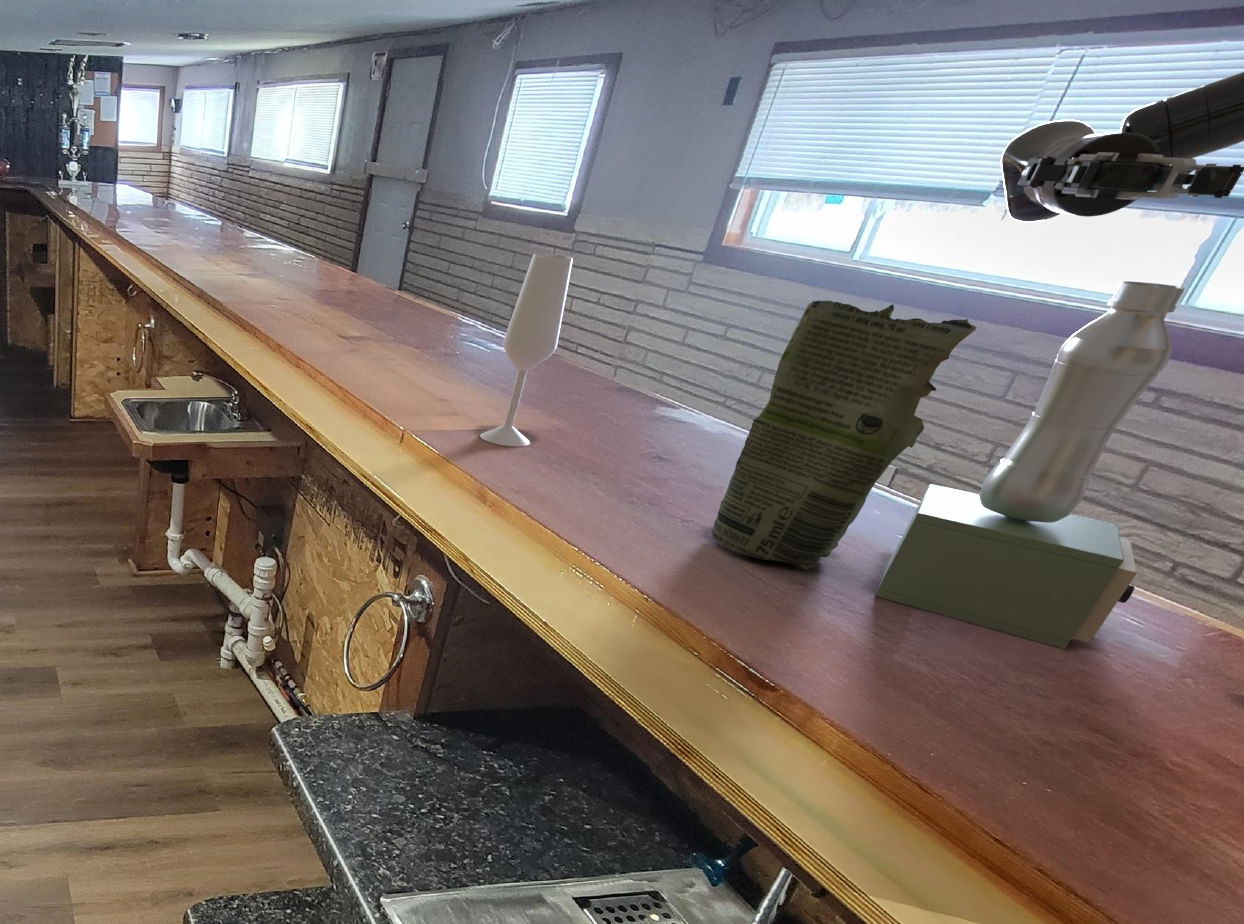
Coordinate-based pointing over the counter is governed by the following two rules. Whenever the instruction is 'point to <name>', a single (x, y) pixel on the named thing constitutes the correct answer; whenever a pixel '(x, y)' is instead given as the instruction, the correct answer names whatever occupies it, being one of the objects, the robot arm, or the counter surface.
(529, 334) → the champagne flute
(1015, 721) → the counter surface
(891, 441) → the pouch
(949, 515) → the cabinet
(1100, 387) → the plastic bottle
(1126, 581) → the drawer
